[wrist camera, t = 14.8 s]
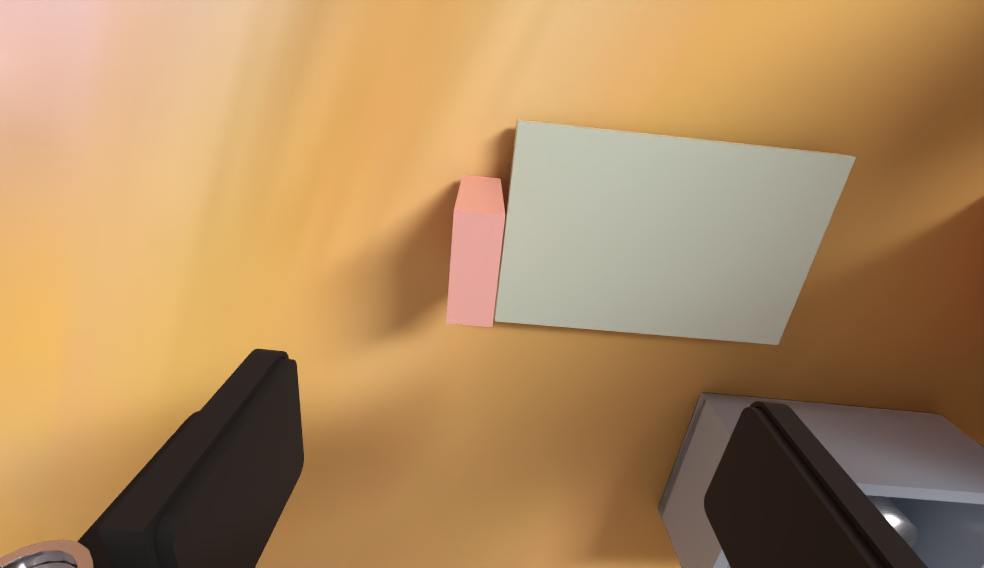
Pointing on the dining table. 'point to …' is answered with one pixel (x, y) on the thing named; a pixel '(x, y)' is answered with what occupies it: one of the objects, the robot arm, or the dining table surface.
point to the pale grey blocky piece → (642, 234)
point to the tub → (865, 458)
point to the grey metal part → (896, 518)
